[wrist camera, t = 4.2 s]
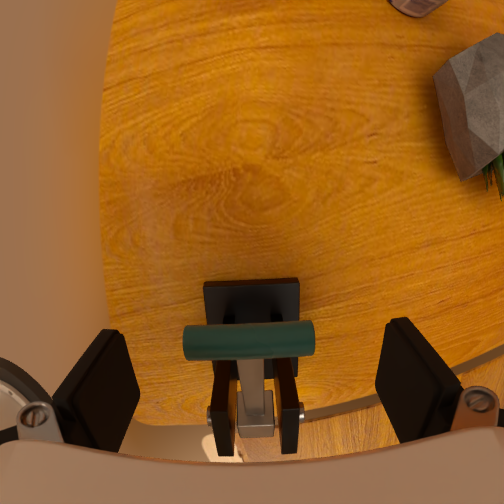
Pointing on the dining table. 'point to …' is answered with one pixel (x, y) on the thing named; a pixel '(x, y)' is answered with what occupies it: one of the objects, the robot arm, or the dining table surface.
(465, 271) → the dining table surface
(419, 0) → the energy drink
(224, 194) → the dining table surface
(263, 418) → the lever
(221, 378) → the bracket
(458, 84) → the potted plant
